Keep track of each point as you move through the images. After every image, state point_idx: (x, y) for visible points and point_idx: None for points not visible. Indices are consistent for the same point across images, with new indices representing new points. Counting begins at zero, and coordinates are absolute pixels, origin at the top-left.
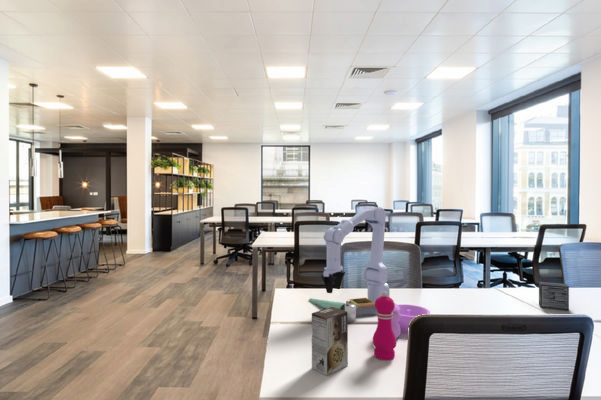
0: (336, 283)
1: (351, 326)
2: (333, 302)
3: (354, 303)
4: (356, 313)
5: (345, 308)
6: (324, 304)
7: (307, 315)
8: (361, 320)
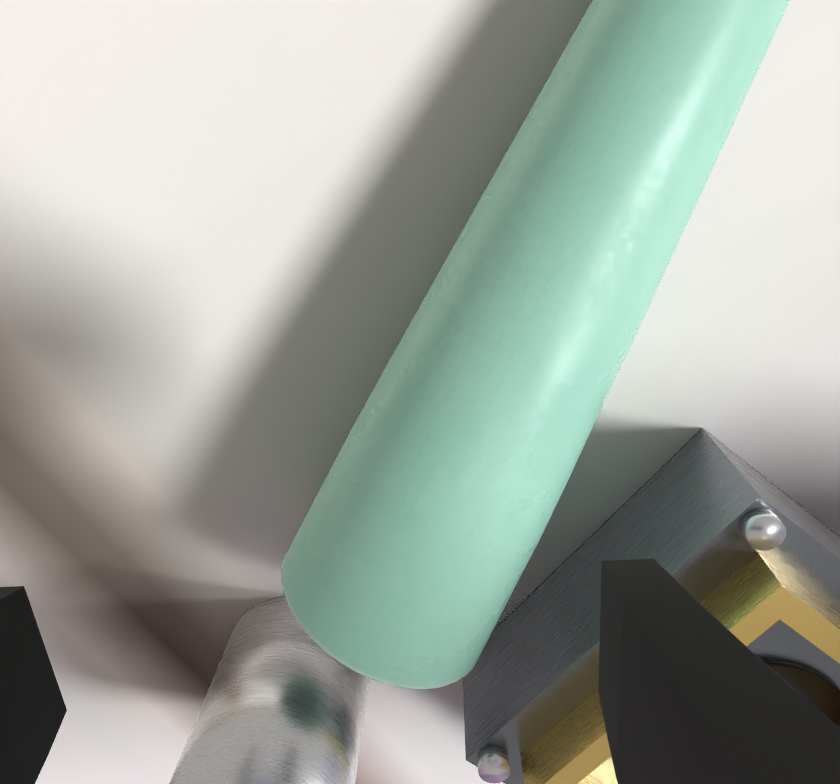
0: (663, 773)
1: (129, 734)
2: (466, 395)
3: (600, 721)
4: (467, 697)
5: (180, 763)
6: (538, 106)
7: (34, 30)
8: (380, 743)
